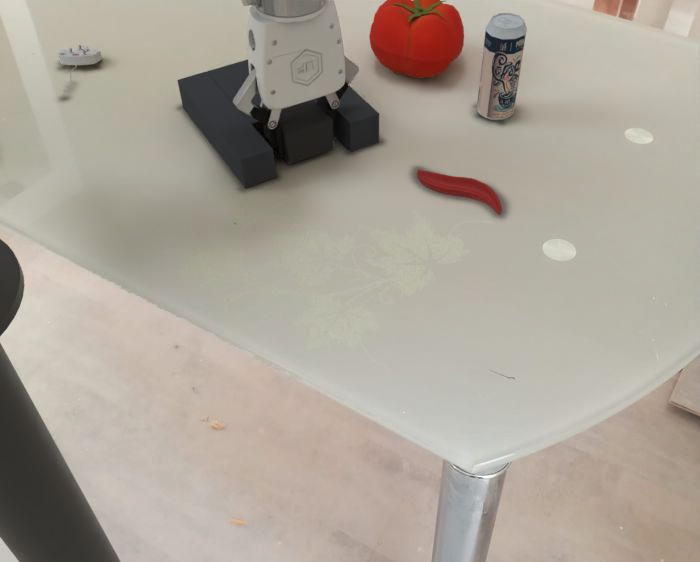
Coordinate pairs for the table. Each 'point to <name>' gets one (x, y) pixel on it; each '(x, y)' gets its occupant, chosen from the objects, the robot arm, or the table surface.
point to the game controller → (79, 57)
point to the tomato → (417, 36)
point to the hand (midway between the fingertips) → (301, 141)
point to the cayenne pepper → (460, 187)
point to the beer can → (501, 66)
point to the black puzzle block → (305, 131)
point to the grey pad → (247, 133)
